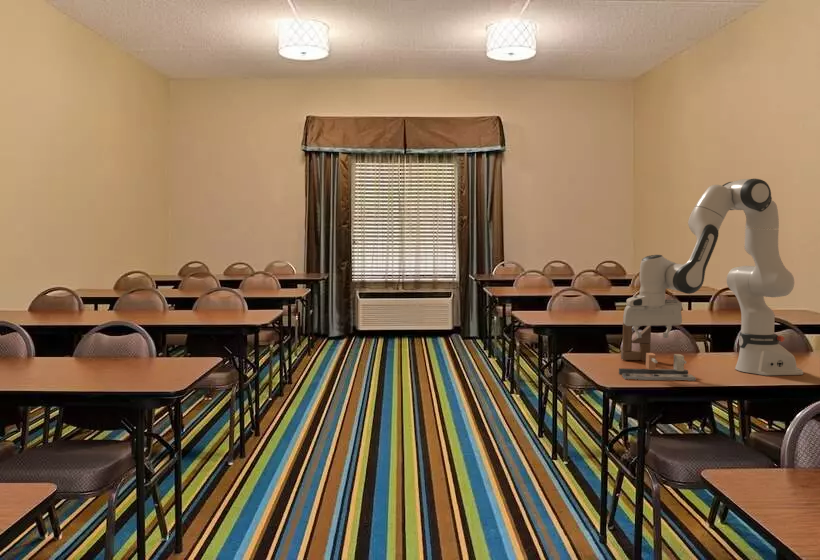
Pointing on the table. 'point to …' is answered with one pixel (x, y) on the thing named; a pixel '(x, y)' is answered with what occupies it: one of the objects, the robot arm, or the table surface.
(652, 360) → the block
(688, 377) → the hole strip
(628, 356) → the brown angular bracket
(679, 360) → the rail
